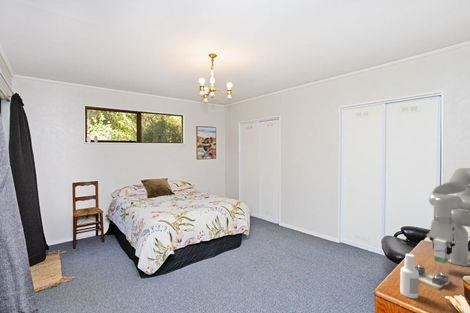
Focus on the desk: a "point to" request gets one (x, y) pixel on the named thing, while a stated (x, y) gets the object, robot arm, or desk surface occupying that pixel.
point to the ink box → (440, 251)
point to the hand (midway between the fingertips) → (442, 251)
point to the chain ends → (437, 279)
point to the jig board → (430, 280)
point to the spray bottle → (409, 278)
